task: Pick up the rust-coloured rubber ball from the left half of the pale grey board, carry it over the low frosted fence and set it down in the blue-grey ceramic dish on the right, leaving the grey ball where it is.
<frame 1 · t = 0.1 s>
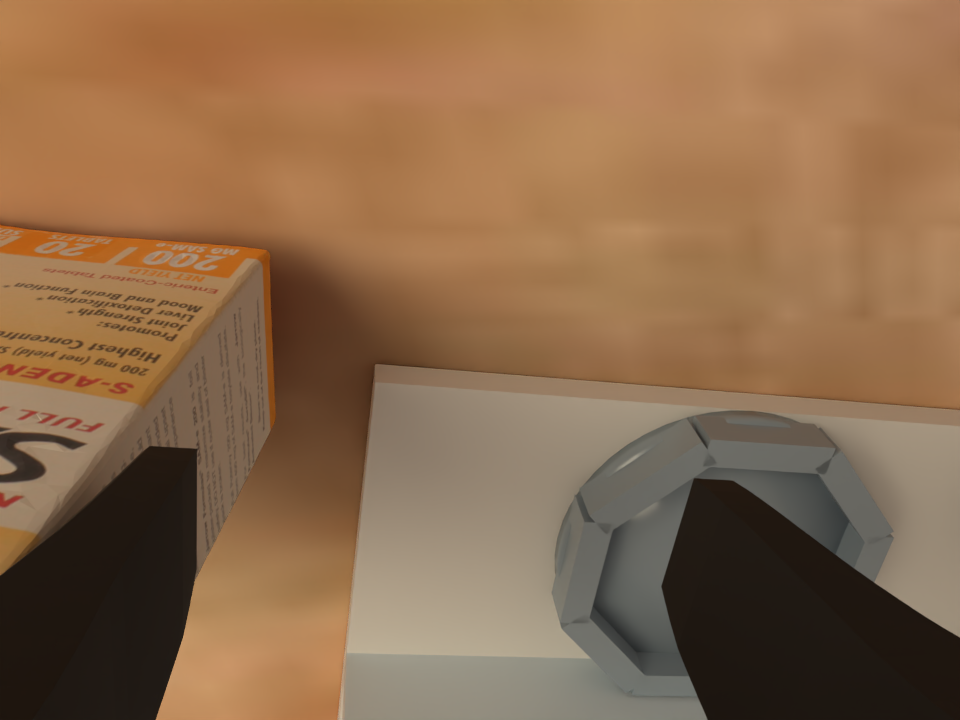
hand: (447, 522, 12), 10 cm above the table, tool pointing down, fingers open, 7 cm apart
supplement box: (106, 313, 20), on the table, touching gripper
dish: (707, 545, 25), resting on board
board: (704, 638, 28), on the table
fence: (700, 649, 28), resting on board
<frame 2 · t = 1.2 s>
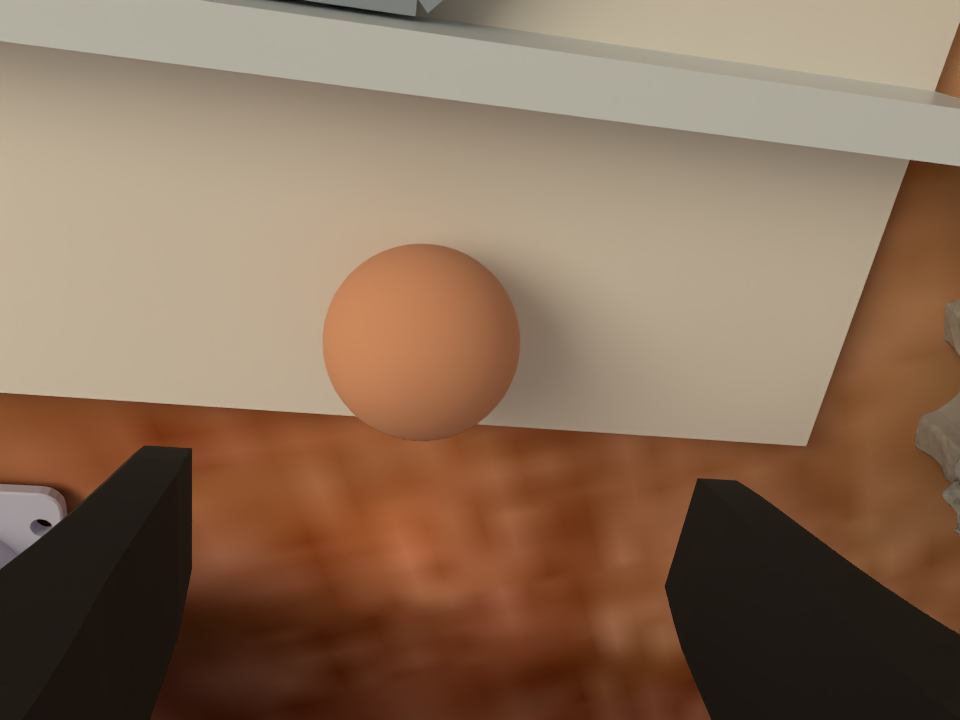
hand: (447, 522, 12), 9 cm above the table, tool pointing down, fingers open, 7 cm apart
rust ball: (422, 342, 18), point 3 cm above the table, touching board
board: (398, 8, 17), on the table
fence: (396, 34, 18), resting on board
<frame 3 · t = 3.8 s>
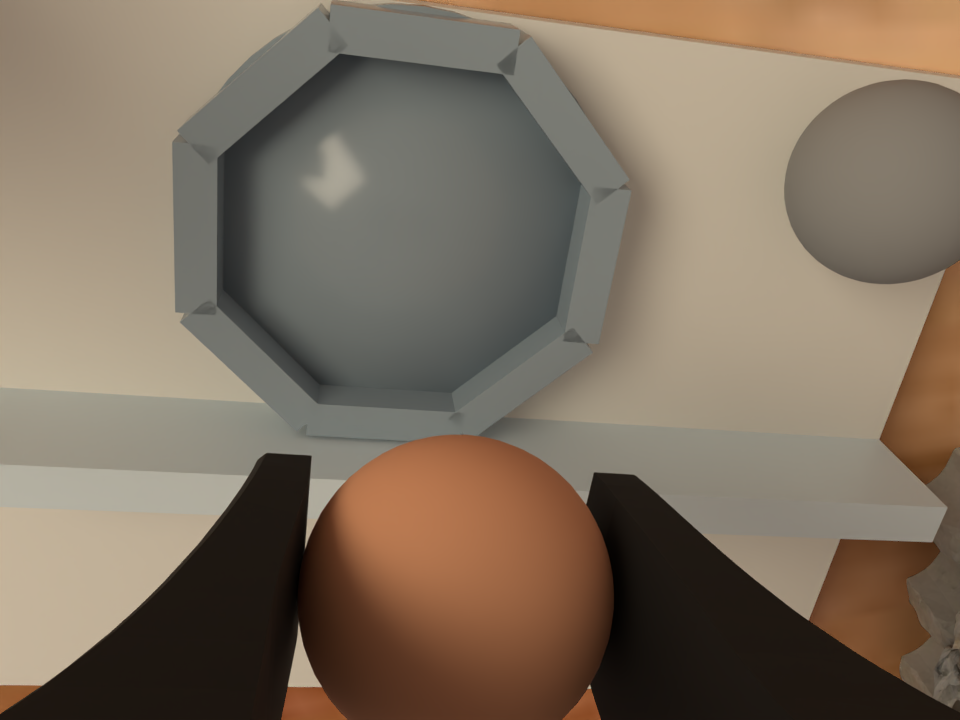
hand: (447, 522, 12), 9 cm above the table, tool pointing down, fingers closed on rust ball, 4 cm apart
rust ball: (456, 590, 11), point 10 cm above the table, touching gripper
dish: (400, 228, 19), resting on board
board: (441, 393, 22), on the table
fence: (439, 411, 22), resting on board
grey ball: (889, 184, 17), point 3 cm above the table, touching board
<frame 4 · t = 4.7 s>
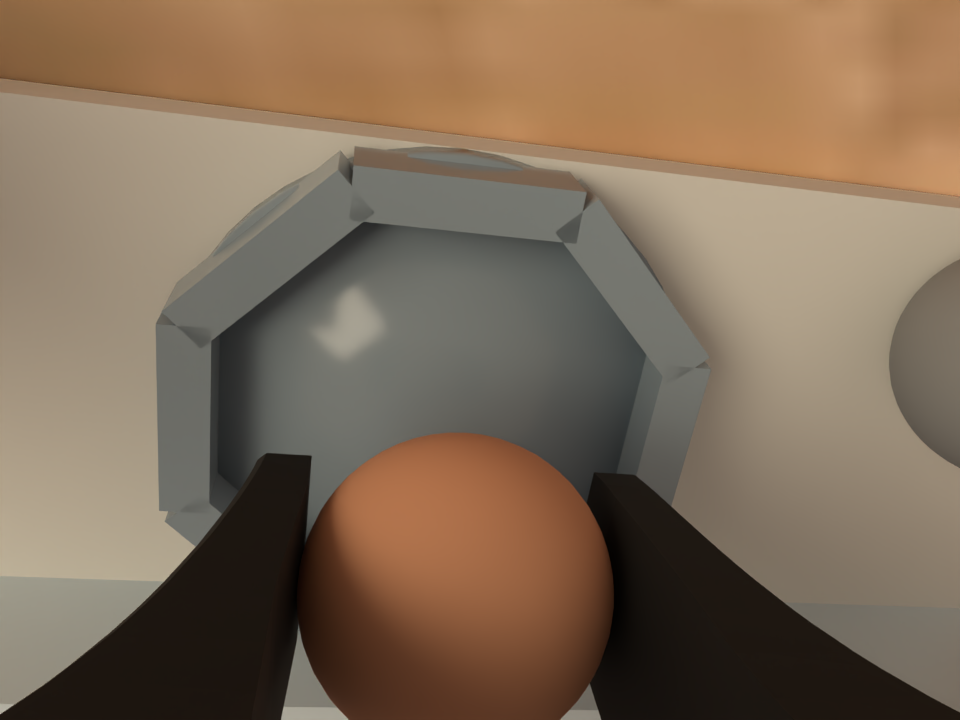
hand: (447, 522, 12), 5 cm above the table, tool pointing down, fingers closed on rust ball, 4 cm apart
rust ball: (456, 589, 11), point 6 cm above the table, touching gripper
dish: (429, 396, 16), resting on board
board: (470, 560, 19), on the table
fence: (467, 578, 19), resting on board
when the fingers open (3 cm above the table, at t = 5.4 s): rust ball drops 1 cm, resting on dish.
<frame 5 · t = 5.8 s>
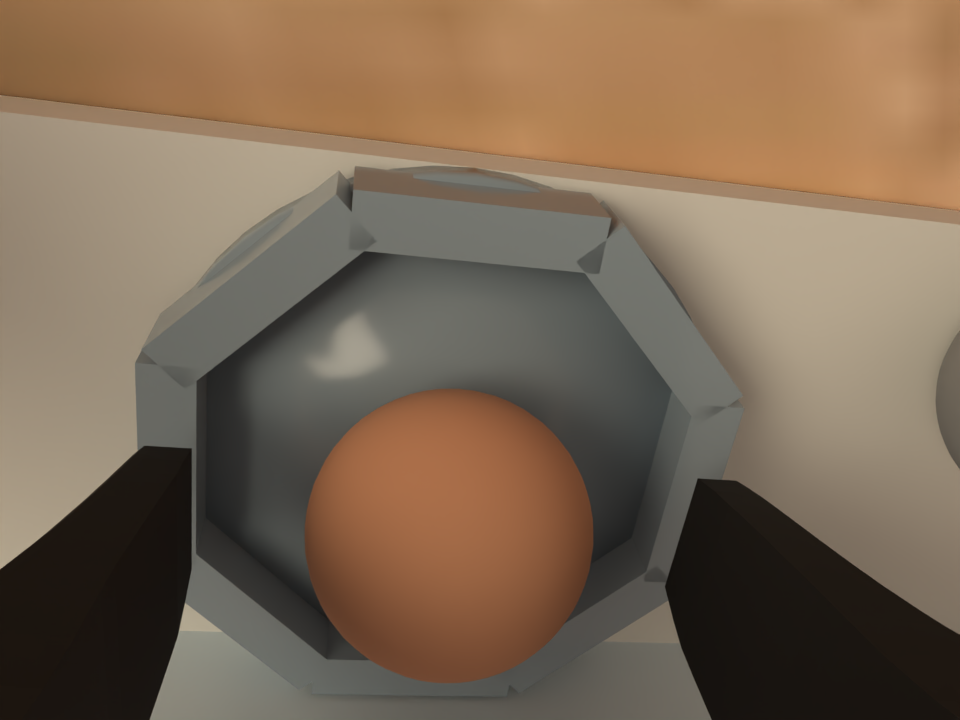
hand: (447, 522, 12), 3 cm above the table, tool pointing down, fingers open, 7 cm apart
rust ball: (449, 531, 12), point 4 cm above the table, touching dish
dish: (435, 433, 14), resting on board
board: (478, 602, 17), on the table
fence: (475, 620, 18), resting on board
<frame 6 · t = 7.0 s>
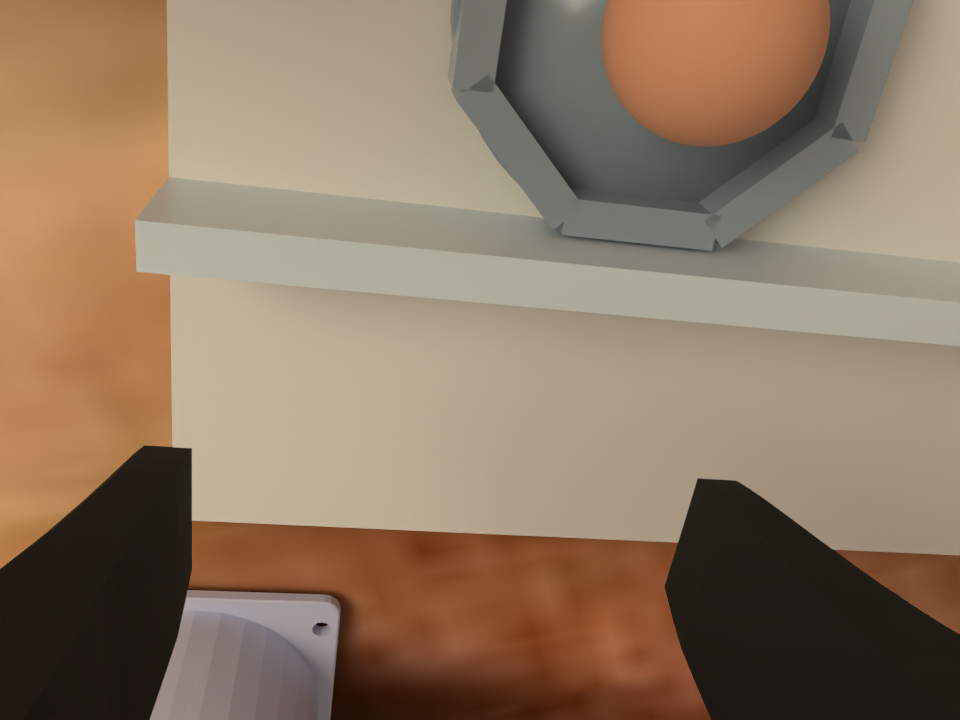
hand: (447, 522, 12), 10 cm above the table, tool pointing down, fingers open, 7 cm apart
rust ball: (712, 33, 16), point 4 cm above the table, touching dish
dish: (665, 19, 18), resting on board
board: (667, 219, 21), on the table
fence: (662, 238, 21), resting on board
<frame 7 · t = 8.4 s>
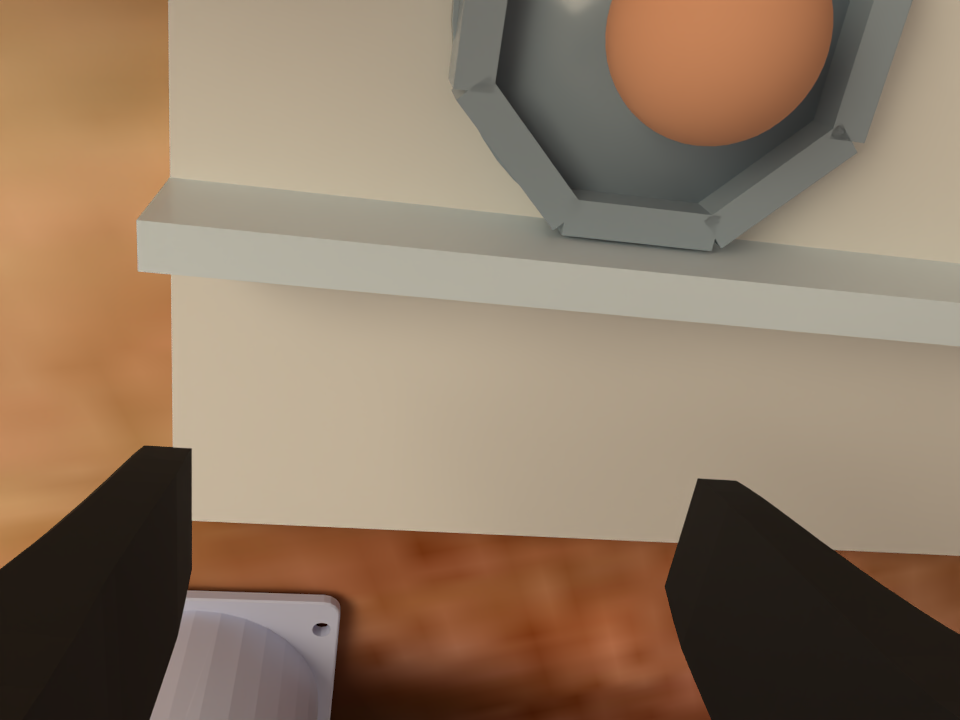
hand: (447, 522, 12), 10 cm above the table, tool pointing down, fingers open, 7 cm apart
rust ball: (715, 34, 16), point 4 cm above the table, touching dish
dish: (664, 20, 18), resting on board
board: (666, 220, 21), on the table
fence: (662, 239, 21), resting on board
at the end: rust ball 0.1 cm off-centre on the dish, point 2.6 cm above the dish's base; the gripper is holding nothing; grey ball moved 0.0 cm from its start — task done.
